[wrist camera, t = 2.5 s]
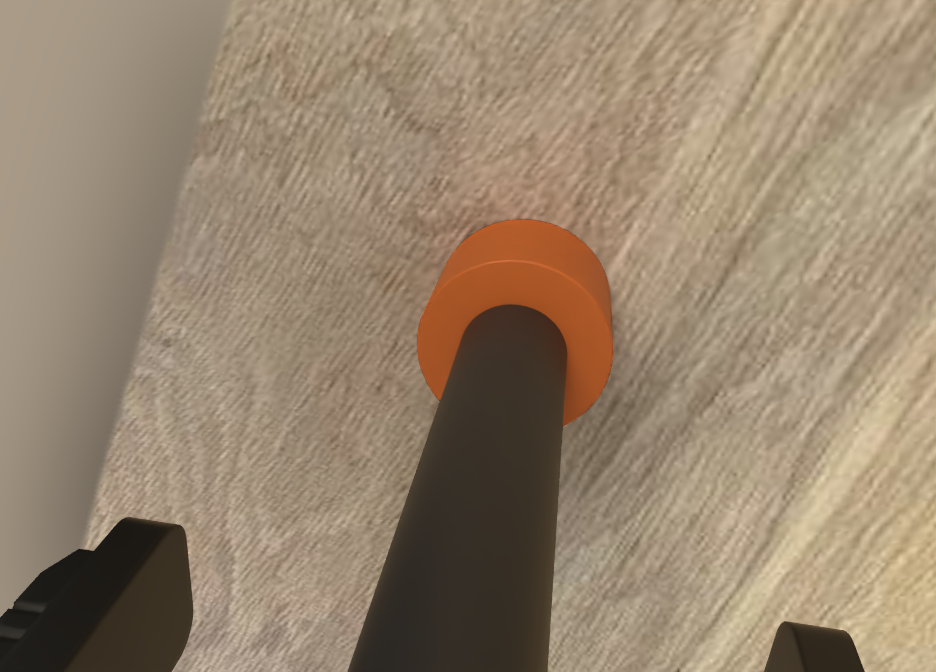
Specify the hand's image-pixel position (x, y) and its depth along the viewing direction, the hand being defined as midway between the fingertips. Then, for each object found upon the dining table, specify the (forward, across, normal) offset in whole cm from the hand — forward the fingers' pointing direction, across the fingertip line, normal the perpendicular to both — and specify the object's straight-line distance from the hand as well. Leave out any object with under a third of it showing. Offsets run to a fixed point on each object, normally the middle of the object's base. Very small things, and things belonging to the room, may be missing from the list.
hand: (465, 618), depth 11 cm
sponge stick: (+11, 0, 0) cm, 11 cm away
